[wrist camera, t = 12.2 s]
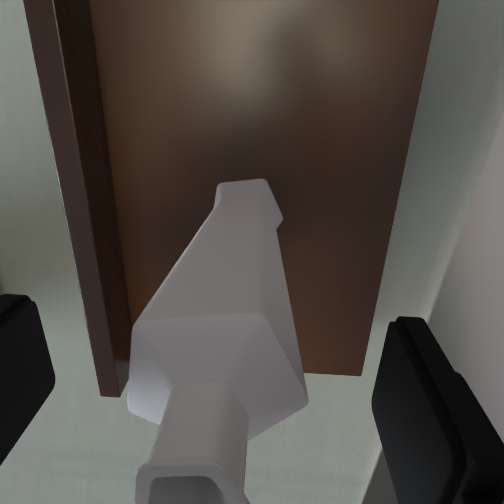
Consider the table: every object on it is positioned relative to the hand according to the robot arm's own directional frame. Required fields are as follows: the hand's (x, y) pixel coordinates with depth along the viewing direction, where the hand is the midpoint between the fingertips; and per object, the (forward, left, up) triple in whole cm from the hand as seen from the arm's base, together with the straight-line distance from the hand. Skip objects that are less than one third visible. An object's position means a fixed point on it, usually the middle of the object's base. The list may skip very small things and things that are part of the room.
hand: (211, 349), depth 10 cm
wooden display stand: (0, 0, -17) cm, 17 cm away
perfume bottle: (0, 0, -11) cm, 11 cm away
